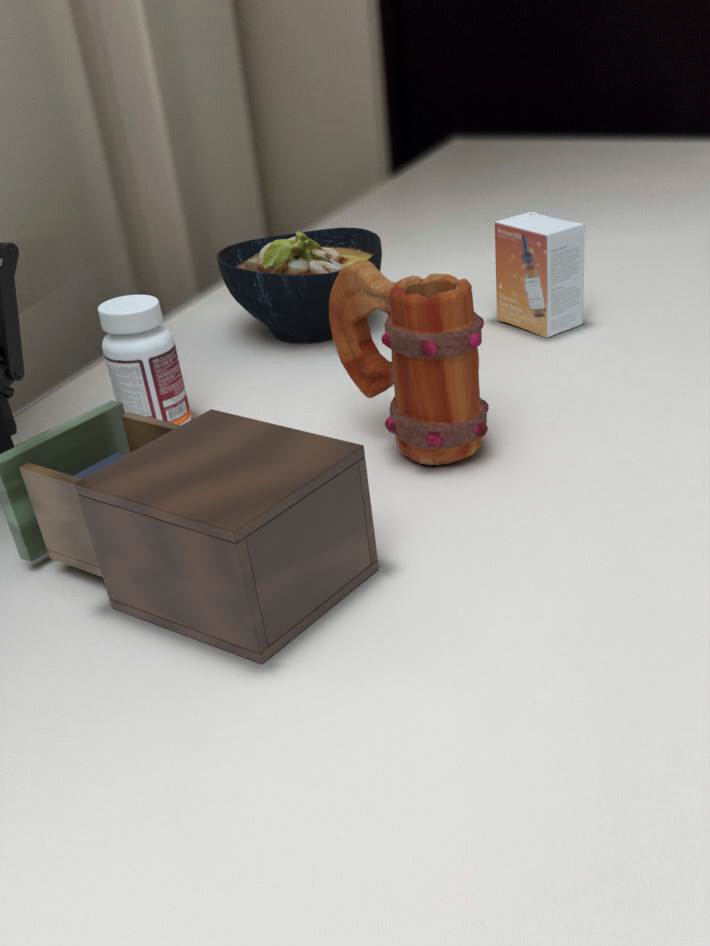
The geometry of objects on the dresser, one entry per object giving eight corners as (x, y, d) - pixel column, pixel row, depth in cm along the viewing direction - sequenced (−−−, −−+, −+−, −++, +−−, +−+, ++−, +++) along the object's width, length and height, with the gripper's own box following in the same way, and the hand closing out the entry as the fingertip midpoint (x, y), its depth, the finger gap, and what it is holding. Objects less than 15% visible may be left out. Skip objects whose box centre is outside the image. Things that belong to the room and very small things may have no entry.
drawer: (-26, 541, 79) (-63, 446, 74) (91, 478, 87) (64, 388, 82) (141, 602, 71) (112, 500, 66) (254, 526, 79) (235, 430, 74)
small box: (496, 321, 115) (492, 221, 109) (533, 308, 118) (531, 209, 111) (547, 338, 110) (546, 234, 103) (585, 324, 113) (586, 222, 106)
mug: (514, 445, 90) (508, 266, 81) (458, 484, 84) (446, 297, 75) (380, 412, 97) (362, 243, 88) (322, 446, 91) (295, 271, 83)
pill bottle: (188, 407, 100) (161, 287, 93) (196, 433, 95) (168, 308, 88) (121, 419, 98) (89, 298, 91) (126, 446, 93) (93, 320, 87)
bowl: (417, 333, 113) (409, 237, 107) (268, 372, 106) (251, 271, 100) (347, 294, 125) (336, 206, 119) (210, 326, 118) (191, 234, 112)
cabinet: (111, 608, 72) (73, 482, 67) (236, 525, 81) (211, 408, 75) (262, 664, 66) (233, 531, 60) (379, 568, 75) (364, 445, 69)
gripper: (-170, 181, 63) (-35, 527, 76) (11, 138, 71) (103, 455, 85) (-238, 173, 66) (-97, 505, 80) (-57, 133, 75) (41, 439, 89)
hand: (6, 479), depth 82 cm, fingers closed
